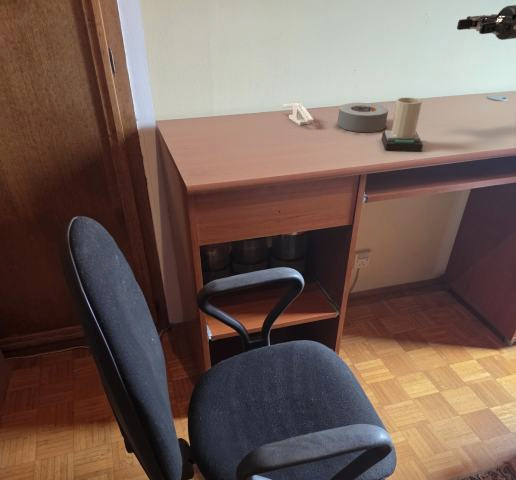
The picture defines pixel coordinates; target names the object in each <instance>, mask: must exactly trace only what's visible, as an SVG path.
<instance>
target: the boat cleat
mask: <svg viewBox="0 0 516 480" xmlns="http://www.w3.org/2000/svg"><path fill="white" fill-rule="evenodd" d="M282 107H283V108H291V107H292V114H289V115H288V118H289V119H290V120H292V121H293V122H295V123H296V124H297V125H299V126H304V125H311V124H312V123H314V121H315V119H314V118H313V116H312V115H311V114H310V113H309V111H308V110H307V108H306V106H304V104H303V103H302V102H293V103H284V104H283V105H282Z"/></svg>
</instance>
